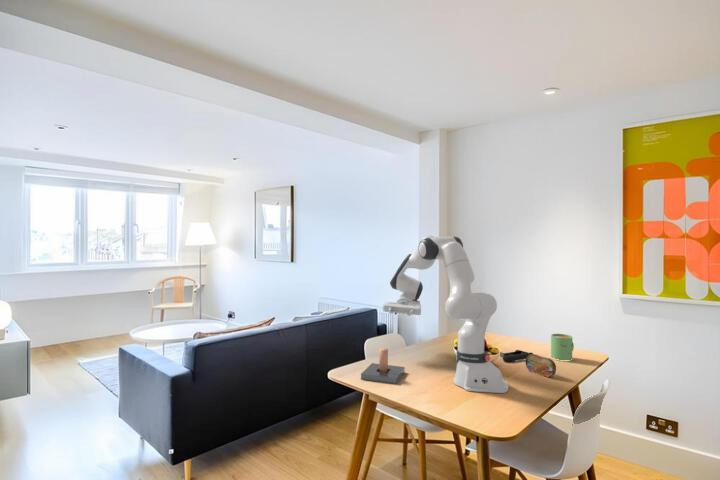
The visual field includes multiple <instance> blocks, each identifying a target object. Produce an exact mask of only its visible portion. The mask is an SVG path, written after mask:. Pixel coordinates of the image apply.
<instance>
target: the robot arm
mask: <svg viewBox="0 0 720 480" xmlns="http://www.w3.org/2000/svg"><path fill="white" fill-rule="evenodd" d="M436 260H441V261H442V262H443V264H444V268H445V271H446V274H447V278H448V282H449V288H450V289H449V291H450V292H449V295H448V297H447V299H446V301H445V304H444V308H445V313H446V315H447V316H448V317H449V318H450V319H452V320H456V321H457V320H458V321H464V323H463V325H462V327H461V328H460V329H459V330H458V331H457V349H456V355H455V356H456V358H455V359H456V369H455V375H454V379H453V384H454V385H456V386H458V387H460V388H462V389H464V390H466V391H468V392H479V393H480V392H481V393H492V394H493V393H494V394H495V393H496V394H506V393H507V392H508V391H509V384H508V382H507V381H506V380H504V377H503V374H502V372H501V370H500V369H499V368H498V367H497V366H496V365H495V364H493V363H492V362H491V357H490V354H489V352H487V351H485V335H486V330H487V327H488V324H489V322H490V320H491V317H492V316H493V315H494V314H495V313H496V312H497V308H498V303H497V300H496V298H495V297H494V295H492V294H490V293H486V292H472V289H471V286H472V283H473V282H474V280H475V273H474V271H473V267H472V265H471V262H470V260H469V256H468V255H467V253H466V251H465V249H464V245H463V241H462V239H461V238H459V237H458V236H453V235H452V236H451V235H449V236H439V235H438V236H434V235H426V236H424V237H422V239H421V240H420V241H419V244H418V246H417V247H416V249H415V252H413V253H408V255H406V257H405V258H404V260H403V261H402V262H401V263H400V265H399V266H398V268H397V270H396V271H395V272H394V273H393V274H392V276H391V277H390V280H389V284H390V287H391V289H393V290H396V291H398V292H401V294H400V296H399V298H398V299H397V300H396V302H395V301H386V302H384V303H383V305H382V311H383V312H385V313H389V314H393V313H394V314H395V313H396V314H403V315H407V316H420V315H421V314H422V305H421V302H420V300H419V299H420V296H421V295H422V292H423V289H424V288H423V286H424V285H423V283H422V281H420V280H419V279H416V278H414V277H411V276H409V275H407V274H405V272H406V271H407V270H408V269H416V270H427V269H430V268H431V267H432V266H433V265H434V264H435V262H436Z"/></svg>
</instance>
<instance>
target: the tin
mask: <svg viewBox="0 0 720 480" xmlns="http://www.w3.org/2000/svg"><path fill="white" fill-rule="evenodd" d="M524 361H525V367H526V369H528V371H529V372H531V373H533V372H534V374H536V373H537V374H536V375H539V374H540V375H539V376H542V375H543V377H545V376H546V377H545V378H549V377H553V376H555V374H556V373H557V372H556V371H557V365H556V363H555V361H554V359H552V358H551V357H547V356H543V355H538V354H537V353H536V354H534V353H533V354H530V355H528V356H527V357H526V360H524Z"/></svg>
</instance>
